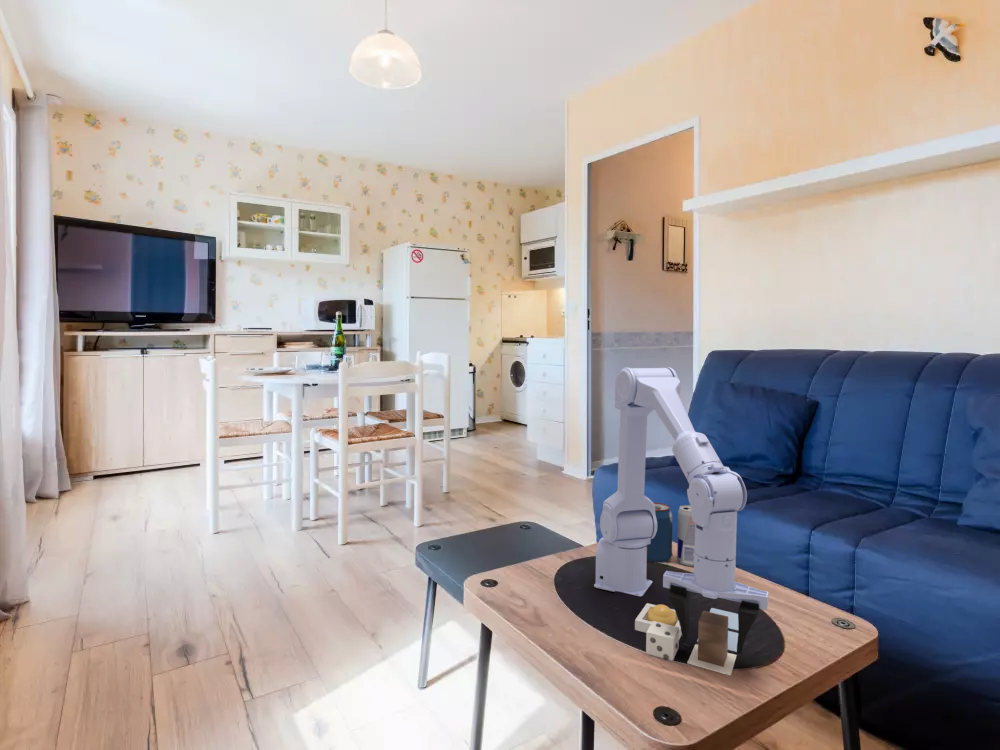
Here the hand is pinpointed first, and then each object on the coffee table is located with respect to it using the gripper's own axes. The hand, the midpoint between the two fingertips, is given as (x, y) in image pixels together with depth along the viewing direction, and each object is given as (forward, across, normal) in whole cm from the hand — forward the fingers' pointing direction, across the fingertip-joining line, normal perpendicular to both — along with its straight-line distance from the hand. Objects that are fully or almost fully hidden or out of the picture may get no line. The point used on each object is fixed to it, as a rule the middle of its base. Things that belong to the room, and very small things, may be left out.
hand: (712, 643), depth 83 cm
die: (+3, -7, -2) cm, 8 cm away
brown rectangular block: (+2, 0, 0) cm, 2 cm away
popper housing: (+3, -9, +6) cm, 11 cm away
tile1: (+3, 0, +7) cm, 8 cm away
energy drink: (+3, -11, +38) cm, 40 cm away
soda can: (+3, -18, +36) cm, 40 cm away
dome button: (+3, -9, +6) cm, 11 cm away
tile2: (+3, 0, 0) cm, 3 cm away
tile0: (+3, 0, +14) cm, 14 cm away
